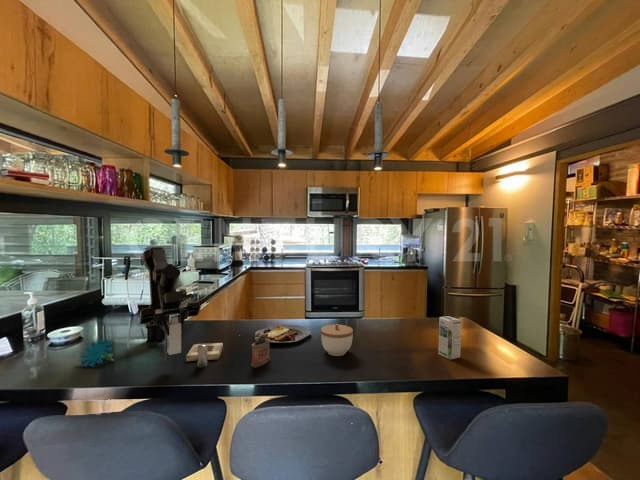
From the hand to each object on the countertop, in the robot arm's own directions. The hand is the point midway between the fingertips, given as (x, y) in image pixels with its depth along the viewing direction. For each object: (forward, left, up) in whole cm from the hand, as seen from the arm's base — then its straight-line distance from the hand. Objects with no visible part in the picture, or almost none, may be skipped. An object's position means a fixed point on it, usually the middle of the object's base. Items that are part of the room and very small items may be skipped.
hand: (175, 333), depth 98 cm
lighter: (+28, +1, -12) cm, 31 cm away
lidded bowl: (+57, +6, -12) cm, 59 cm away
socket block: (+7, +12, -12) cm, 19 cm away
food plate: (+37, +27, -13) cm, 48 cm away
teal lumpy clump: (-28, +10, -13) cm, 33 cm away
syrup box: (+99, -4, -12) cm, 100 cm away
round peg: (+8, +2, -12) cm, 15 cm away
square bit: (-1, +1, -7) cm, 7 cm away
